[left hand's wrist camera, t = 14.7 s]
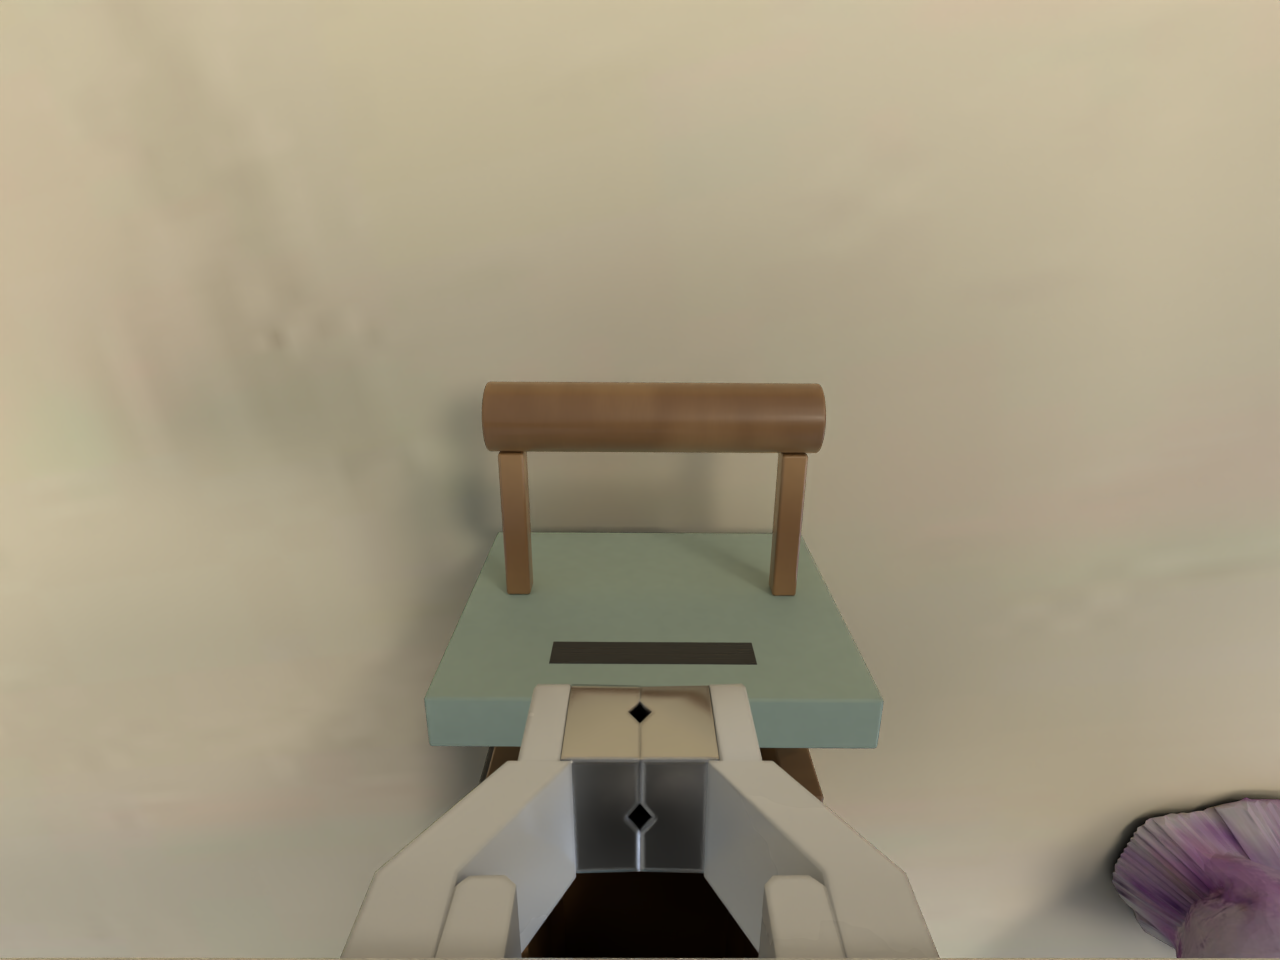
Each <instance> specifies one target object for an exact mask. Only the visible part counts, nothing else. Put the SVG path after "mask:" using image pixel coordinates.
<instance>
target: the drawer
mask: <svg viewBox="0 0 1280 960" xmlns="http://www.w3.org/2000/svg"><path fill="white" fill-rule="evenodd" d="M825 425H826V405H825V397H824V393H823V390H822V387H821V386H820V385H819V384H791V383H619V382H488V383H487V384H486V386H485V389H484V394H483V401H482V429H483V437H484V441H485V445H486V447H487V449H488V450H489V451H500V452H499V454H498V464H499V480H500V495H501V511H502V526H503V532H499V533H498V534H497V536H496V539H495V541H494V543H493V545H492V548H491V550H490V552H489V554H488V557H487V559H486V561H485V563H484V566H483V568H482V570H481V572H480V575H479V577H478V579H477V581H476V584H475V586H474V588H473V590H472V593H471V595H470V597H469V599H468V602H467V604H466V606H465V608H464V610H463V613H462V615H461V617H460V619H459V622H458V624H457V626H456V628H455V631H454V633H453V635H452V637H451V640H450V642H449V644H448V646H447V649H446V651H445V653H444V655H443V658H442V660H441V662H440V664H439V667H438V669H437V671H436V673H435V676H434V678H433V680H432V682H431V685H430V687H429V689H428V691H427V693H426V696H425V698H424V701H425V710H426V718H427V727H428V736H429V743H430V745H431V746H495V747H494V751H493V754H492V758H491V762H490V765H489V769H488V772H487V776H486V778H488V777H489V776H490V775H491V774H492V773H493V772H495V771H496V770H497V769H498V768H499V767H501V766H502V765H503V764H504V763H505V762H507V761H518V757H519V752H520V748H521V743H522V739H523V735H524V730H525V726H526V721H527V717H528V712H529V708H530V704H531V699H532V695H533V690H534V688H535V687H536V686H537V684H570V685H572V684H597V685H640V686H707V685H709V684H740V683H742V684H743V685H744V686H745V687H746V691H747V695H748V700H749V704H750V709H751V713H752V717H753V722H754V726H755V731H756V735H757V739H758V744H759V748H760V752H761V757H762V761H774V762H775V763H776V764H777V765H778V766H779V767H781V768H782V769H783V770H784V771H785V772H787V773H788V774H789V775H790V776H791V777H792V778H794V779H795V780H796V781H797V782H798V783H800V784H801V785H802V786H803V787H804V788H805V789H807V790H808V791H809V792H810V793H811V794H813V795H814V796H815V797H816V798H817V799H818V800H820V801H821V802H822V803H823V794H822V791H821V788H820V785H819V782H818V778H817V775H816V772H815V769H814V766H813V762H812V759H811V756H810V753H809V750H808V748H876V747H877V744H878V737H879V730H880V723H881V716H882V709H883V702H884V701H883V698H882V696H881V694H880V692H879V690H878V688H877V686H876V684H875V682H874V680H873V678H872V676H871V674H870V672H869V670H868V668H867V666H866V664H865V662H864V660H863V658H862V656H861V654H860V652H859V650H858V648H857V646H856V644H855V642H854V640H853V638H852V636H851V634H850V632H849V630H848V628H847V626H846V624H845V622H844V620H843V618H842V616H841V614H840V612H839V610H838V608H837V606H836V604H835V602H834V600H833V598H832V596H831V594H830V592H829V590H828V588H827V586H826V584H825V582H824V580H823V578H822V576H821V574H820V572H819V570H818V568H817V566H816V564H815V562H814V560H813V558H812V556H811V554H810V552H809V550H808V548H807V546H806V544H805V542H804V540H803V538H802V536H801V529H802V518H803V507H804V496H805V484H806V473H807V462H808V456H807V454H806V453H817V452H818V451H819V450H820V448H821V446H822V443H823V439H824V434H825ZM527 451H530V452H706V453H778V467H777V480H776V494H775V507H774V521H773V534H747V533H568V532H531V527H530V507H529V487H528V467H527ZM521 957H522V958H758V957H759V953H758V952H757V950H756V949H755V947H754V946H753V945H752V943H751V942H750V940H749V939H748V938H747V936H746V935H745V933H744V932H743V931H742V929H741V928H740V926H739V925H738V924H737V922H736V921H735V919H734V918H733V917H732V915H731V914H730V912H729V911H728V909H727V908H726V907H725V905H724V904H723V902H722V901H721V900H720V898H719V897H718V895H717V894H716V893H715V891H714V890H713V888H712V887H711V886H710V884H709V883H708V881H707V880H706V879H705V877H704V873H675V872H640V871H638V872H604V873H576V878H575V880H574V881H573V882H572V884H571V885H570V886H569V888H568V889H567V891H566V892H565V893H564V895H563V896H562V898H561V899H560V900H559V902H558V903H557V905H556V906H555V907H554V909H553V910H552V912H551V913H550V914H549V916H548V917H547V919H546V920H545V921H544V923H543V924H542V926H541V927H540V928H539V930H538V931H537V932H536V934H535V935H534V937H533V938H532V939H531V941H530V942H529V944H528V945H527V946H526V948H525V949H524V951H523V952H522V953H521Z"/></svg>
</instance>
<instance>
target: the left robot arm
mask: <svg viewBox="0 0 1280 960" xmlns="http://www.w3.org/2000/svg"><path fill="white" fill-rule="evenodd" d="M638 871H640V872H675V873H704V877H705V879H706V880H707V881H708V883H709V884H710V886H711V887H712V888H713V890H714V891H715V893H716V894H717V895H718V897H719V898H720V900H721V901H722V902H723V904H724V905H725V907H726V908H727V909H728V911H729V912H730V914H731V915H732V917H733V918H734V919H735V921H736V922H737V924H738V925H739V926H740V928H741V929H742V931H743V932H744V933H745V935H746V936H747V938H748V939H749V940H750V942H751V943H752V945H753V946H754V947H755V949H756V950H757V952H758V953H759V957H758V958H522V957H521V953H522V952H523V951H524V949H525V948H526V946H527V945H528V944H529V942H530V941H531V939H532V938H533V937H534V935H535V934H536V932H537V931H538V930H539V928H540V927H541V926H542V924H543V923H544V921H545V920H546V919H547V917H548V916H549V914H550V913H551V912H552V910H553V909H554V907H555V906H556V905H557V903H558V902H559V900H560V899H561V898H562V896H563V895H564V893H565V892H566V891H567V889H568V888H569V886H570V885H571V884H572V882H573V881H574V880H575V878H576V873H604V872H638ZM0 960H1280V958H940V957H939V955H938V952H937V950H936V947H935V945H934V942H933V940H932V938H931V935H930V933H929V930H928V928H927V925H926V923H925V920H924V918H923V915H922V913H921V910H920V908H919V905H918V903H917V900H916V898H915V895H914V893H913V890H912V888H911V885H910V883H909V880H908V878H907V875H906V873H905V872H904V871H902V870H901V869H900V868H899V867H898V866H897V865H895V864H894V863H893V862H892V861H891V860H889V859H888V858H887V857H886V856H885V855H884V854H882V853H881V852H880V851H879V850H878V849H876V848H875V847H874V846H873V845H872V844H871V843H869V842H868V841H867V840H866V839H865V838H863V837H862V836H861V835H860V834H859V833H858V832H856V831H855V830H854V829H853V828H852V827H850V826H849V825H848V824H847V823H846V822H844V821H843V820H842V819H841V818H840V817H839V816H837V815H836V814H835V813H834V812H833V811H831V810H830V809H829V808H828V807H827V806H826V805H824V804H823V803H822V802H821V801H820V800H818V799H817V798H816V797H815V796H814V795H813V794H811V793H810V792H809V791H808V790H807V789H805V788H804V787H803V786H802V785H801V784H800V783H798V782H797V781H796V780H795V779H794V778H792V777H791V776H790V775H789V774H788V773H787V772H785V771H784V770H783V769H782V768H781V767H779V766H778V765H777V764H776V763H775V762H774V761H762V757H761V752H760V748H759V744H758V739H757V735H756V731H755V726H754V722H753V717H752V713H751V709H750V704H749V700H748V695H747V691H746V687H745V686H744V685H743V684H742V683H740V684H709V685H707V686H640V685H597V684H572V685H570V684H537V686H536V687H535V688H534V690H533V695H532V699H531V704H530V708H529V712H528V717H527V721H526V726H525V730H524V735H523V739H522V743H521V748H520V752H519V757H518V761H507V762H505V763H504V764H503V765H502V766H501V767H499V768H498V769H497V770H496V771H495V772H493V773H492V774H491V775H490V776H489V777H488V778H486V779H485V780H484V781H483V782H482V783H480V784H479V785H478V786H477V787H476V788H474V789H473V790H472V791H471V792H470V793H469V794H467V795H466V796H465V797H464V798H463V799H461V800H460V801H459V802H458V803H457V804H455V805H454V806H453V807H452V808H451V809H449V810H448V811H447V812H446V813H445V814H444V815H442V816H441V817H440V818H439V819H438V820H436V821H435V822H434V823H433V824H432V825H430V826H429V827H428V828H427V829H426V830H425V831H423V832H422V833H421V834H420V835H419V836H417V837H416V838H415V839H414V840H413V841H411V842H410V843H409V844H408V845H407V846H406V847H404V848H403V849H402V850H401V851H400V852H398V853H397V854H396V855H395V856H394V857H392V858H391V859H390V860H389V861H388V862H386V863H385V864H384V865H383V866H382V867H381V868H379V869H378V870H377V871H376V872H375V874H374V876H373V879H372V881H371V884H370V886H369V889H368V891H367V893H366V896H365V898H364V901H363V903H362V906H361V908H360V911H359V913H358V915H357V918H356V920H355V923H354V925H353V928H352V930H351V933H350V935H349V938H348V940H347V942H346V945H345V947H344V950H343V952H342V955H341V957H340V958H0Z"/></svg>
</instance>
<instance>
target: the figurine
mask: <svg viewBox="0 0 1280 960" xmlns="http://www.w3.org/2000/svg"><path fill="white" fill-rule="evenodd" d="M1130 840H1131V842H1129V843H1127V847H1126V848H1124V852H1123V853H1122V854H1121V858H1119V859H1118V862H1117V863H1116V864H1115V871H1114V872H1112V874H1113V880H1112V882H1113V884H1114V886H1115V888H1116V890H1117V892H1118V894H1119V896H1120V897H1121V898H1122V899H1123V900H1124V901H1125V902H1126V903H1127V905H1129V906H1130V907H1131V908H1132V909H1134V913H1135V916H1136V919H1137V921H1138V923H1139V924H1140V926H1141V927H1142V929H1143V930H1144V931H1145V932H1146V933H1148V934H1150V935H1152V936H1153V937H1155V938H1157V939H1159V940H1160V941H1162V942H1164V943H1166V944H1168V945H1169V946H1171V947H1173V948H1175V949H1176V956H1177V958H1280V800H1279V799H1249V798H1244V799H1242V800H1240V801H1236V802H1231V803H1226V804H1221V805H1218V806H1215V807H1210V808H1207V809H1206V810H1204V811H1195V812H1190V813H1183V812H1181V813H1178V814H1173V813H1170V814H1167V815H1165V816H1160V817H1154V818H1150V819H1148V820H1146V822H1145V824H1144V825H1142V826H1140V827H1138V828H1137V831H1136V832H1134V836H1133V837H1132V838H1130Z"/></svg>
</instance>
